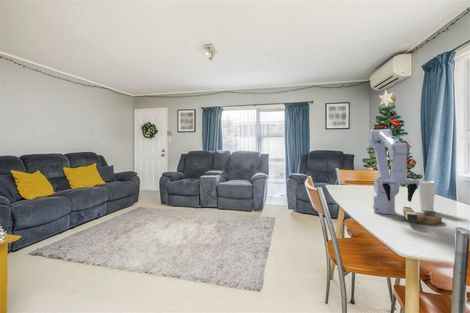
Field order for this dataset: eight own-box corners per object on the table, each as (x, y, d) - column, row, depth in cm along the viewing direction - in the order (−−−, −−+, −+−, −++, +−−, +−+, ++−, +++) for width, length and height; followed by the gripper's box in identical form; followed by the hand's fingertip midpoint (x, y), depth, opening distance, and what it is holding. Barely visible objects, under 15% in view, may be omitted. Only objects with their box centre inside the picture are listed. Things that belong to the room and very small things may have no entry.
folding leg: (402, 213, 110) (402, 206, 110) (411, 214, 109) (411, 207, 109) (407, 222, 98) (407, 214, 98) (417, 223, 96) (417, 215, 96)
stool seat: (407, 222, 103) (407, 213, 103) (402, 215, 114) (402, 206, 114) (445, 226, 97) (445, 217, 97) (437, 218, 108) (437, 209, 108)
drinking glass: (436, 213, 115) (436, 183, 115) (419, 211, 119) (418, 182, 118) (433, 210, 121) (433, 181, 120) (417, 208, 125) (417, 180, 124)
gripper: (381, 171, 103) (382, 201, 103) (422, 171, 97) (422, 203, 98) (378, 169, 109) (378, 198, 110) (416, 169, 104) (416, 200, 104)
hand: (399, 200), depth 104 cm, fingers open, 7 cm apart
